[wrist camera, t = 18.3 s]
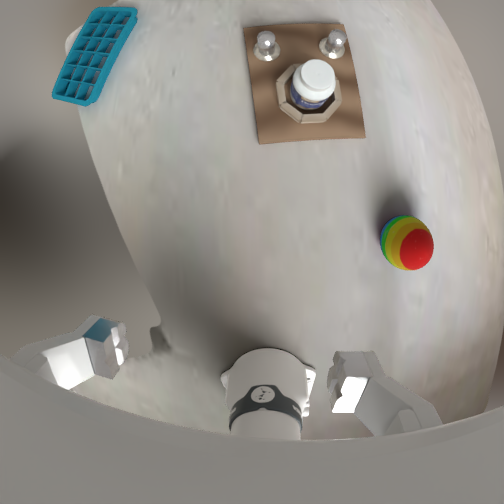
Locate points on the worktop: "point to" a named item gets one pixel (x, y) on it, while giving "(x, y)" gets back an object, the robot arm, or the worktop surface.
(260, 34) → the steel pins
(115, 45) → the ice cube tray
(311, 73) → the pill bottle
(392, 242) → the decorative egg
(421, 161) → the worktop surface
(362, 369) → the robot arm
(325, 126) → the board
